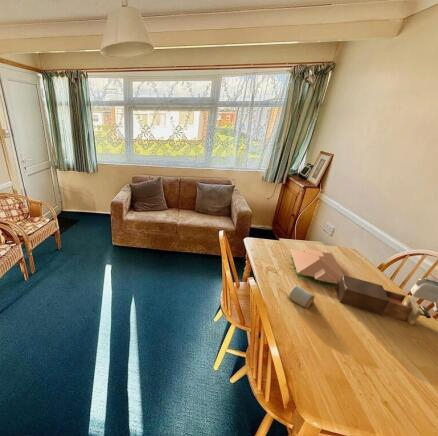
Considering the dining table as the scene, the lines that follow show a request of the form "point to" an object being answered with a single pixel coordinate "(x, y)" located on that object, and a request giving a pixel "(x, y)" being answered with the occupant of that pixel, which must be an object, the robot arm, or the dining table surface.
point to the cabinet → (362, 294)
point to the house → (317, 266)
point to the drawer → (404, 308)
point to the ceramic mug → (301, 296)
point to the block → (394, 300)
